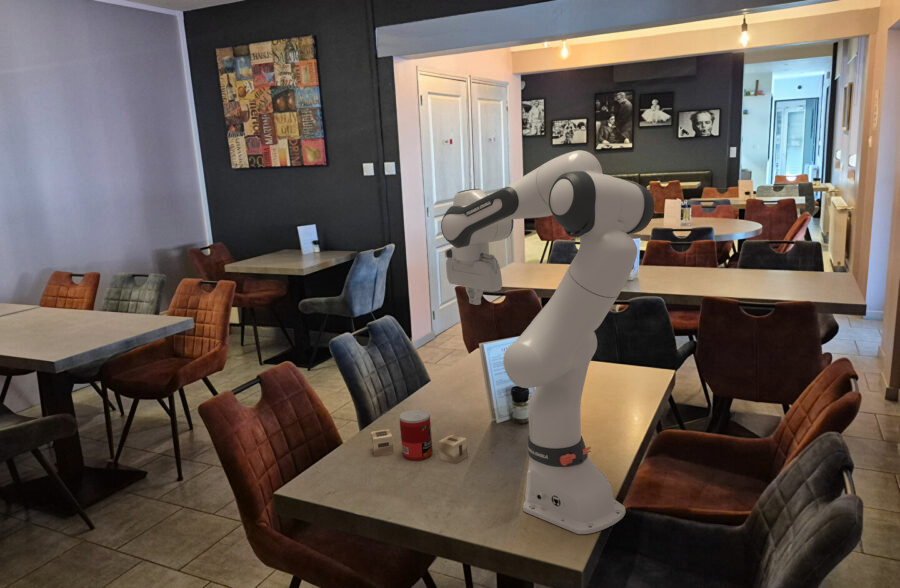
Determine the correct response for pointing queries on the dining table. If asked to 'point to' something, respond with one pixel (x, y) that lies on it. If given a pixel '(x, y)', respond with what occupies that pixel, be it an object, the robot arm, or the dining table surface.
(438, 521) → the dining table surface
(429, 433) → the canned food
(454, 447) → the marked cube near
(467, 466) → the dining table surface
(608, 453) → the dining table surface
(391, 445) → the marked cube far
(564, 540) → the dining table surface
